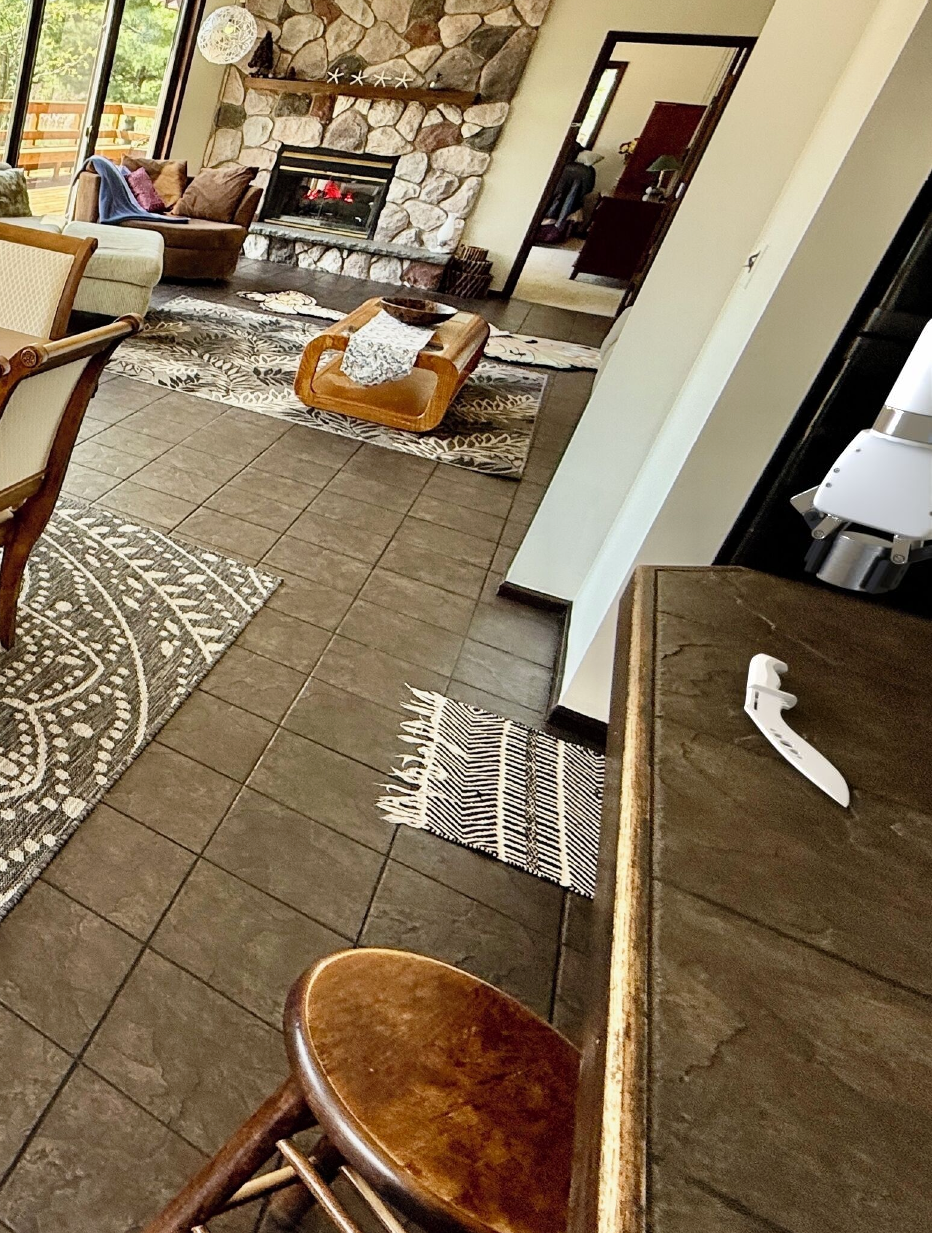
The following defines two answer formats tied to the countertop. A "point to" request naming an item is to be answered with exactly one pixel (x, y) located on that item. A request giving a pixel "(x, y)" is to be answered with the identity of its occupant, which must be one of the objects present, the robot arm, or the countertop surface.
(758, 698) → the knife
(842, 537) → the cylinder
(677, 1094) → the countertop surface
